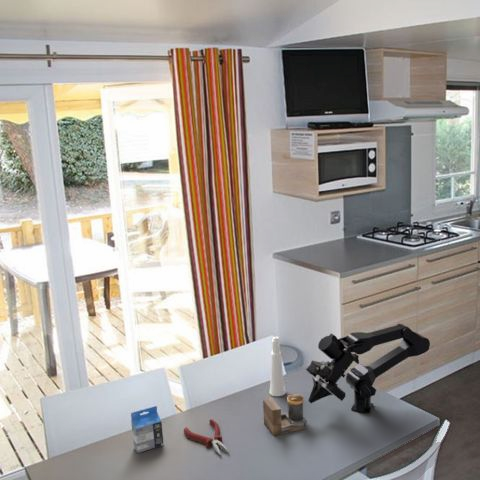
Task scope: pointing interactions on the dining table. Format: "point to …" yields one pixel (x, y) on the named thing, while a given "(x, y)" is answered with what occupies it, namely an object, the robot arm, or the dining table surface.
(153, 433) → the label tape box
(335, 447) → the dining table surface
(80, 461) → the dining table surface
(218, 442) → the pliers
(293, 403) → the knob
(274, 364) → the cosmetic bottle
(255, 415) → the dining table surface
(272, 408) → the mount
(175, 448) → the dining table surface
